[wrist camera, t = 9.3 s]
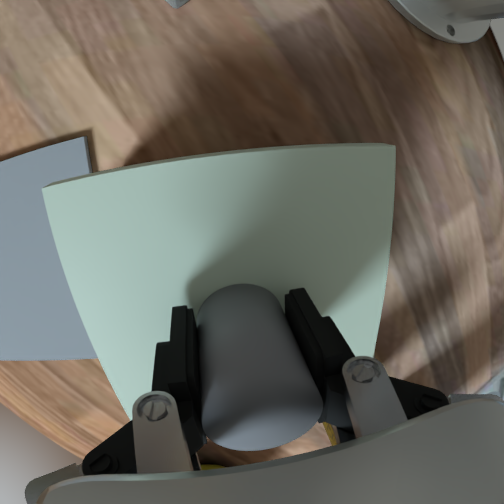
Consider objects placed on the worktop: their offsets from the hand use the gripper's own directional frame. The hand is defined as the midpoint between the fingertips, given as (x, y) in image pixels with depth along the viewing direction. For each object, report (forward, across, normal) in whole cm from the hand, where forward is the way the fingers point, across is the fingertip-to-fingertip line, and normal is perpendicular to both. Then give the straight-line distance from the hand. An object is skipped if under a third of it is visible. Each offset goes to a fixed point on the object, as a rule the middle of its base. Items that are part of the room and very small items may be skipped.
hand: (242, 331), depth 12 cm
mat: (+8, +14, 0) cm, 17 cm away
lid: (+2, 0, 0) cm, 2 cm away
